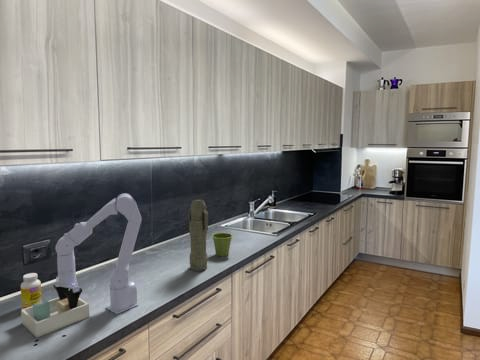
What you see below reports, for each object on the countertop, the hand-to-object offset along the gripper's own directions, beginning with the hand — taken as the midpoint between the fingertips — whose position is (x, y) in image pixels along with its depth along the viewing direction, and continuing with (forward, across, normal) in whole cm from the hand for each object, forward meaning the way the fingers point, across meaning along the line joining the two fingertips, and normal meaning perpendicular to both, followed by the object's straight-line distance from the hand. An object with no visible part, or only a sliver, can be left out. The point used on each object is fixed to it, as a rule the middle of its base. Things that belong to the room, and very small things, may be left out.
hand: (68, 305), depth 125 cm
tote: (+4, 0, -4) cm, 6 cm away
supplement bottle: (+4, -17, -6) cm, 19 cm away
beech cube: (+3, 0, 0) cm, 3 cm away
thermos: (+4, +2, +64) cm, 64 cm away
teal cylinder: (+3, 0, -9) cm, 10 cm away
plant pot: (+4, -3, +86) cm, 87 cm away
